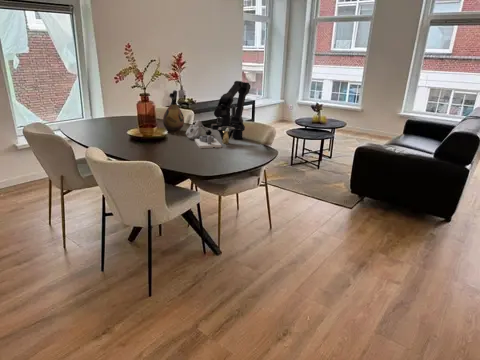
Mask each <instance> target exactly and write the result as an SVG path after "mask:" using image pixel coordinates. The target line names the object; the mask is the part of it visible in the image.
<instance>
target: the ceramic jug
mask: <svg viewBox="0 0 480 360" xmlns="http://www.w3.org/2000/svg"><path fill="white" fill-rule="evenodd" d="M168 97H169V98H170V100H171V102H170V104H169V106H168V108H166V110H165V112H164V115H163V119H162V123H163V127H164V128H165V129H166V132H167V131H168V132H167V133H169V134H170V133H171V134H179V132H180V131H181V129H182V128H183V127H184V124H185V117H184V114H183V112H182V110H181V108H180V107H179V105H178V103H177V100H178V99H177V98H178V91H177V89H176V90H175V89H174V90H173V91H172V92H170V93H169V95H168Z"/></svg>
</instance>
